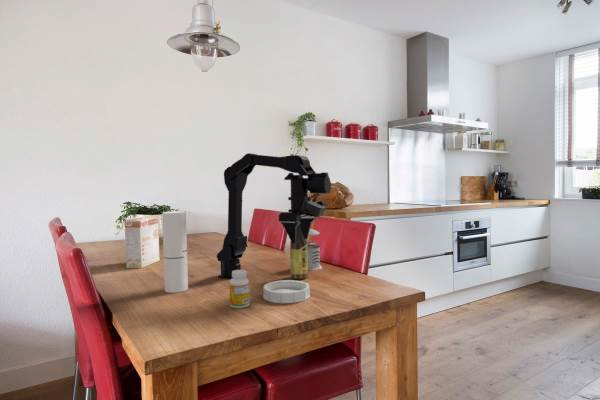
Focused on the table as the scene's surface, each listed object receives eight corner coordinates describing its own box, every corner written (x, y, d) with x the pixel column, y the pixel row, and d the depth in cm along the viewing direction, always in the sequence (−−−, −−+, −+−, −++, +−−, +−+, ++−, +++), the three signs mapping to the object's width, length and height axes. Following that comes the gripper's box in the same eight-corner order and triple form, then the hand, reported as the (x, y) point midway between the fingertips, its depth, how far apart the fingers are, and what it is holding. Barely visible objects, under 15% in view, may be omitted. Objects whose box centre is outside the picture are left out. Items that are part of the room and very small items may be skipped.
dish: (254, 299, 113) (254, 289, 113) (277, 287, 125) (277, 278, 125) (297, 306, 107) (297, 295, 107) (317, 292, 119) (317, 282, 119)
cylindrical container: (192, 287, 127) (190, 211, 125) (178, 293, 120) (176, 213, 119) (174, 285, 129) (172, 211, 128) (159, 291, 122) (157, 213, 121)
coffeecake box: (145, 260, 170) (143, 216, 169) (160, 260, 169) (159, 216, 168) (125, 268, 156) (123, 220, 154) (141, 268, 155) (140, 220, 154)
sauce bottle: (306, 280, 134) (305, 223, 133) (288, 279, 135) (287, 223, 134) (309, 275, 140) (308, 221, 139) (292, 275, 141) (291, 221, 140)
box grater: (326, 266, 155) (326, 204, 153) (312, 272, 145) (311, 206, 143) (305, 263, 160) (305, 203, 158) (290, 269, 150) (289, 205, 149)
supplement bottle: (230, 302, 110) (230, 269, 110) (249, 302, 111) (249, 268, 110) (229, 309, 105) (228, 273, 104) (249, 308, 105) (248, 273, 105)
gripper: (309, 195, 115) (310, 247, 116) (332, 192, 132) (332, 238, 132) (277, 194, 120) (278, 244, 121) (302, 192, 136) (303, 236, 137)
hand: (299, 240), depth 128 cm, fingers open, 9 cm apart
